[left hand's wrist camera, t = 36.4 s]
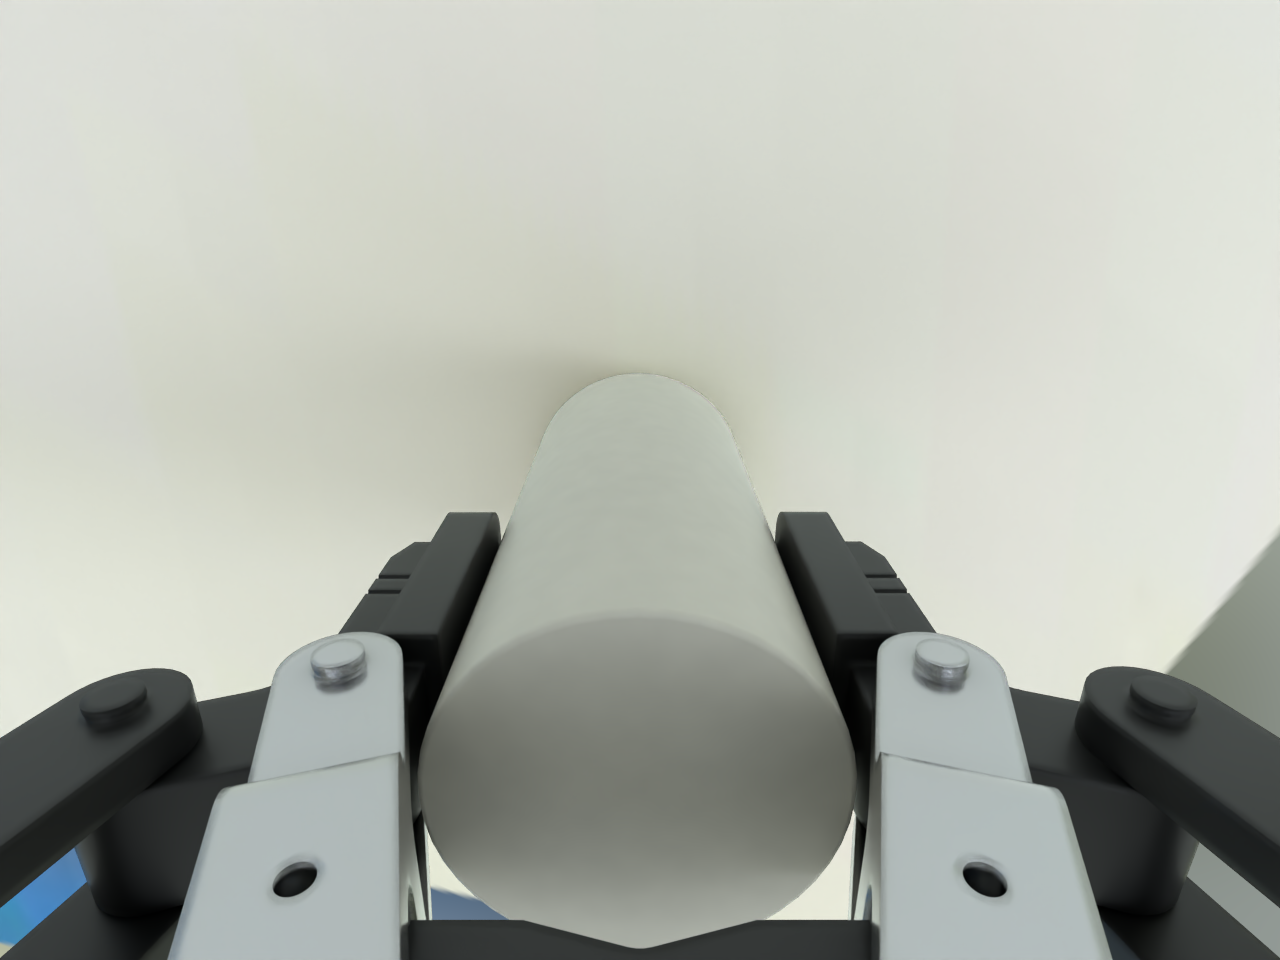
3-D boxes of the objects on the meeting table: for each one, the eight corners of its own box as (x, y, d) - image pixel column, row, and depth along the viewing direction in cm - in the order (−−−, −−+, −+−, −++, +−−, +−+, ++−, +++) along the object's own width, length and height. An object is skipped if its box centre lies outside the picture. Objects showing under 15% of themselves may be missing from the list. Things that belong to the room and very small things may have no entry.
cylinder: (496, 470, 16) (324, 800, 7) (639, 327, 15) (638, 517, 6) (637, 594, 17) (635, 1010, 9) (779, 471, 16) (950, 803, 7)
